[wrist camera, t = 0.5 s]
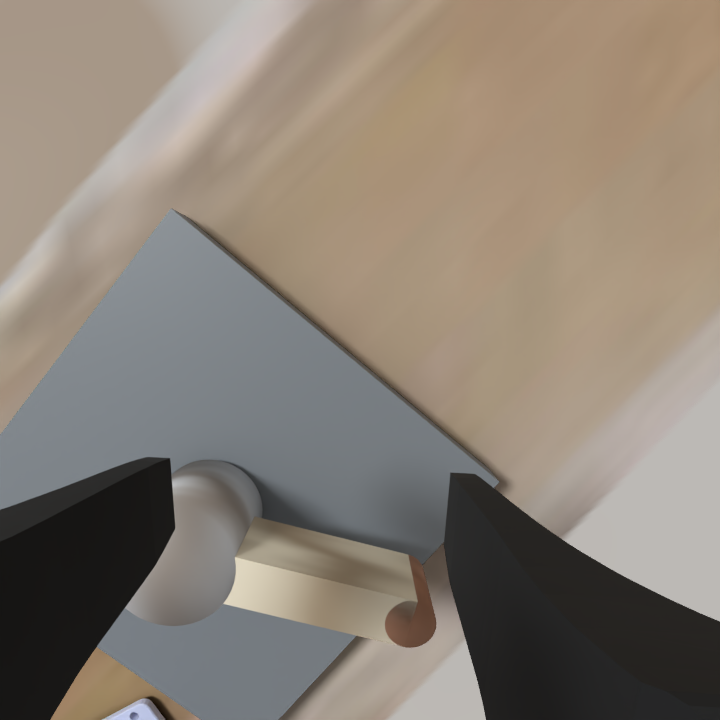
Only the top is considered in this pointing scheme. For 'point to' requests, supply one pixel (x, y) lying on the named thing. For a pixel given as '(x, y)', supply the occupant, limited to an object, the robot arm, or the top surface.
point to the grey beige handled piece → (276, 567)
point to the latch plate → (232, 450)
